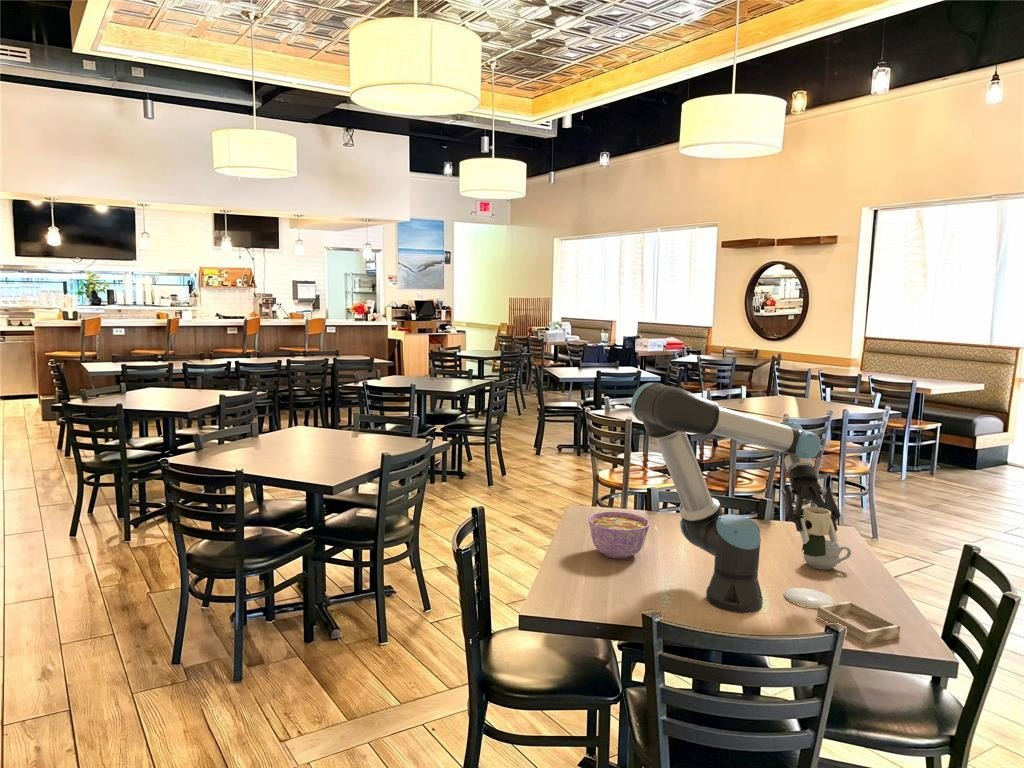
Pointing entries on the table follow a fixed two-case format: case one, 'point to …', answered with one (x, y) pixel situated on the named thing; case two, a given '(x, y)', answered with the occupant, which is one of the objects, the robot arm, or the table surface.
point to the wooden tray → (884, 626)
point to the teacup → (828, 557)
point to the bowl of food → (618, 533)
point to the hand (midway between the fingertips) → (820, 541)
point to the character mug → (816, 530)
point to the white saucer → (808, 597)
